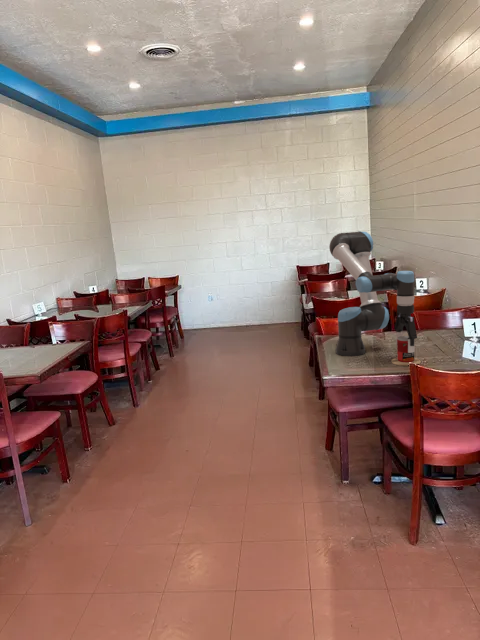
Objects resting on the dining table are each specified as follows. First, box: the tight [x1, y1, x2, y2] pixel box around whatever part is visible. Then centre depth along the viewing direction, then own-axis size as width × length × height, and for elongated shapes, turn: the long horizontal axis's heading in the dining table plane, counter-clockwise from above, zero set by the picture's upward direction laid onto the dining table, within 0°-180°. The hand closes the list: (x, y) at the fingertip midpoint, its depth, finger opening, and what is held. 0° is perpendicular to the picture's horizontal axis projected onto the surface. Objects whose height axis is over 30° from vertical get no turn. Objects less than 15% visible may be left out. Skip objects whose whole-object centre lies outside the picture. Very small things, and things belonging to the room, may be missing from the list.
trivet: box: [391, 357, 422, 367], centre depth 226 cm, size 13×13×1 cm
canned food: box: [396, 335, 415, 362], centre depth 225 cm, size 8×8×11 cm
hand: (405, 348), depth 225 cm, fingers open, 13 cm apart
